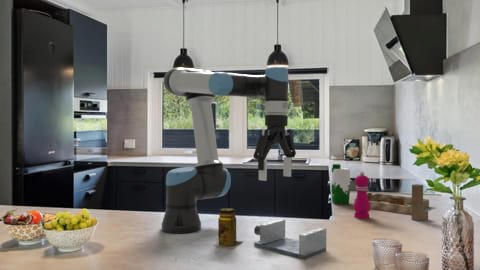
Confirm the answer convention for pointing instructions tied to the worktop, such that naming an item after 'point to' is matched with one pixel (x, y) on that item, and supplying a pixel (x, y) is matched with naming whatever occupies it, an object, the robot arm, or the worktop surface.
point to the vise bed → (286, 247)
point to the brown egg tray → (393, 206)
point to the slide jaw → (271, 231)
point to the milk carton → (340, 184)
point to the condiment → (227, 229)
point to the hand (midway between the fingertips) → (275, 178)
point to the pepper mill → (361, 197)
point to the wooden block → (418, 203)
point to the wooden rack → (390, 200)
